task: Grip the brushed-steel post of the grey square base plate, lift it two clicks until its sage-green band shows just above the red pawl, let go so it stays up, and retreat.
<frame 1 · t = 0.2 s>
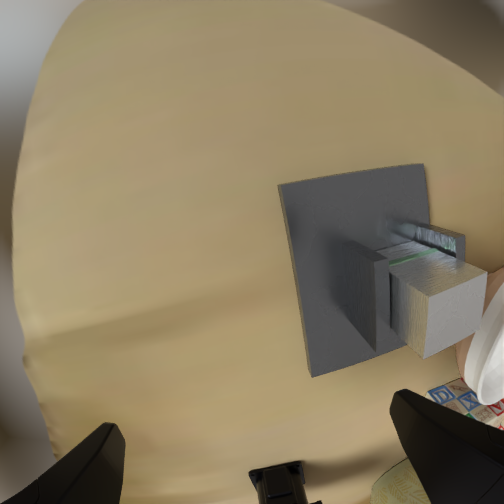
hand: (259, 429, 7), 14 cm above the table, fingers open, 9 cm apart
column: (420, 290, 17), point 5 cm above the table, slide at 0.0 cm
grey square base plate: (381, 267, 22), on the table
vase: (405, 471, 33), on the table
stack of blocks: (471, 384, 29), on the table
bowl: (482, 314, 26), on the table
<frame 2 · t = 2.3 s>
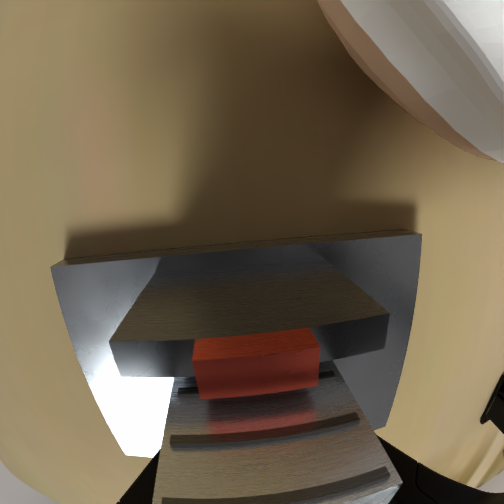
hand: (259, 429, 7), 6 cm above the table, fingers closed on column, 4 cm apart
column: (259, 428, 7), point 5 cm above the table, slide at 0.0 cm, touching gripper
grey square base plate: (245, 340, 13), on the table
bowl: (414, 32, 10), on the table
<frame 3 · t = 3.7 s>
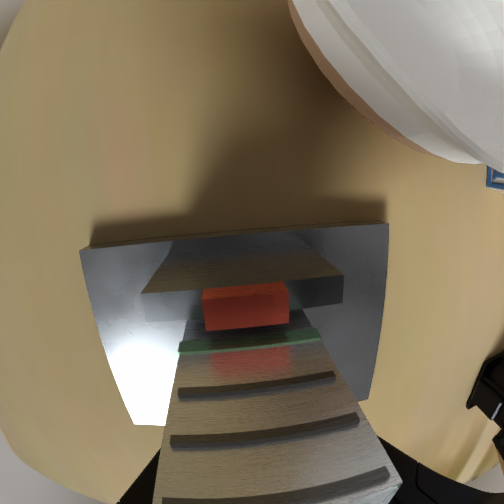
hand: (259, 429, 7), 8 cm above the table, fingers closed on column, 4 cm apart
column: (259, 428, 7), point 8 cm above the table, slide at 2.9 cm, touching gripper
grey square base plate: (241, 312, 16), on the table
stack of blocks: (499, 79, 14), on the table
bowl: (389, 48, 13), on the table
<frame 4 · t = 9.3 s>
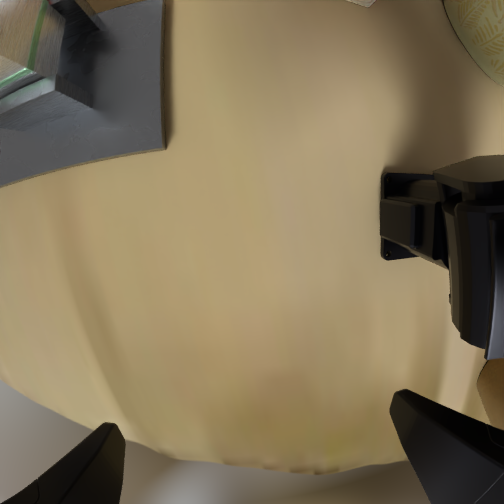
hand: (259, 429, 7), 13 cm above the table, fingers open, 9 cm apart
plant pot: (492, 368, 27), on the table
column: (0, 39, 7), point 8 cm above the table, slide at 2.9 cm
grey square base plate: (64, 76, 15), on the table
vase: (482, 34, 16), on the table
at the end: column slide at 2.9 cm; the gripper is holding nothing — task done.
